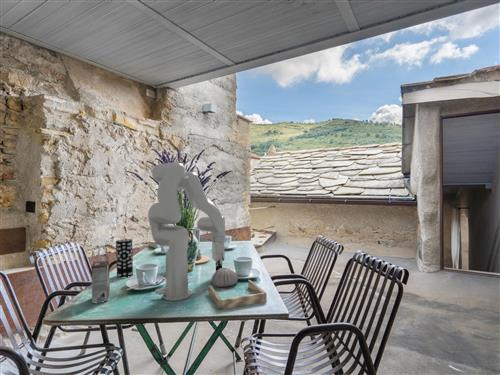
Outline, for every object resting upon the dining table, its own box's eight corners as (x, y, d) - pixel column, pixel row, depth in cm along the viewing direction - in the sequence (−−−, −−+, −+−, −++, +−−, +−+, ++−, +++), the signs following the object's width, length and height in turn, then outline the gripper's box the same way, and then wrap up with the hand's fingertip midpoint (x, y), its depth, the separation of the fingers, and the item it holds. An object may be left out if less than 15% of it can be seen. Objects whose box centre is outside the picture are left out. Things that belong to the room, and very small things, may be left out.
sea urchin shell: (206, 286, 143) (205, 270, 143) (220, 278, 155) (220, 263, 155) (229, 290, 137) (228, 273, 137) (242, 281, 149) (242, 266, 149)
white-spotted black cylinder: (132, 276, 162) (132, 241, 162) (116, 278, 158) (115, 242, 158) (133, 272, 169) (132, 238, 169) (117, 274, 166) (116, 239, 166)
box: (219, 309, 115) (219, 300, 115) (209, 293, 133) (208, 285, 133) (266, 301, 122) (266, 293, 122) (250, 287, 140) (250, 279, 140)
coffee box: (94, 297, 132) (93, 261, 132) (110, 294, 135) (109, 260, 135) (91, 304, 124) (90, 266, 124) (108, 301, 126) (107, 264, 126)
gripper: (208, 237, 162) (209, 270, 162) (214, 241, 148) (215, 277, 148) (221, 236, 164) (222, 268, 164) (228, 240, 150) (229, 276, 150)
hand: (219, 272), depth 156 cm, fingers closed
